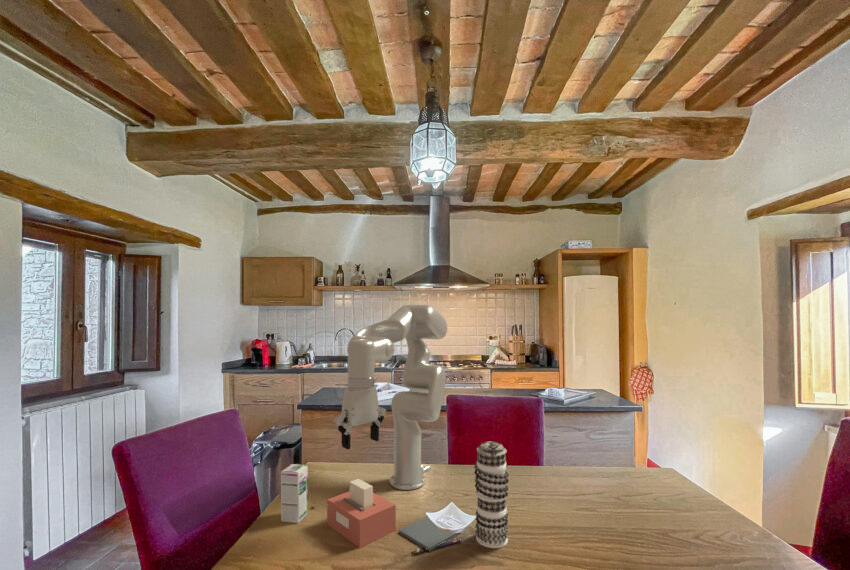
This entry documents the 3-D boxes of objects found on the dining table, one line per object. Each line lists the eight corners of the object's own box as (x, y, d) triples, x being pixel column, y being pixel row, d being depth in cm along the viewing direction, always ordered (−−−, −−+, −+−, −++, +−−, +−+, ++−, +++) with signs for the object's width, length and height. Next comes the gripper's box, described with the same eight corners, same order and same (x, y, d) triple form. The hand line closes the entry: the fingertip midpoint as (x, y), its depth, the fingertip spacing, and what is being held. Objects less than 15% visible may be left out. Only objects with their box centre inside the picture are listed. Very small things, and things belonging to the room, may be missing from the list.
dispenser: (361, 510, 128) (362, 485, 128) (395, 530, 116) (395, 503, 117) (326, 524, 119) (326, 498, 120) (359, 548, 108) (359, 519, 108)
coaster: (430, 517, 123) (430, 514, 123) (460, 533, 115) (460, 530, 115) (399, 532, 115) (399, 529, 115) (429, 551, 106) (429, 548, 107)
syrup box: (298, 523, 120) (299, 472, 120) (279, 521, 121) (280, 470, 122) (308, 513, 125) (308, 464, 126) (290, 511, 127) (290, 463, 127)
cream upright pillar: (358, 510, 122) (358, 478, 122) (372, 519, 116) (372, 486, 117) (349, 513, 119) (349, 481, 120) (363, 523, 114) (364, 489, 115)
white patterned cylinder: (473, 529, 117) (472, 438, 118) (506, 530, 117) (505, 439, 118) (475, 548, 108) (475, 450, 109) (512, 549, 107) (511, 450, 109)
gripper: (377, 377, 128) (377, 434, 127) (327, 385, 116) (326, 447, 116) (393, 381, 123) (392, 440, 122) (342, 389, 111) (341, 455, 110)
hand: (360, 443), depth 119 cm, fingers open, 9 cm apart
